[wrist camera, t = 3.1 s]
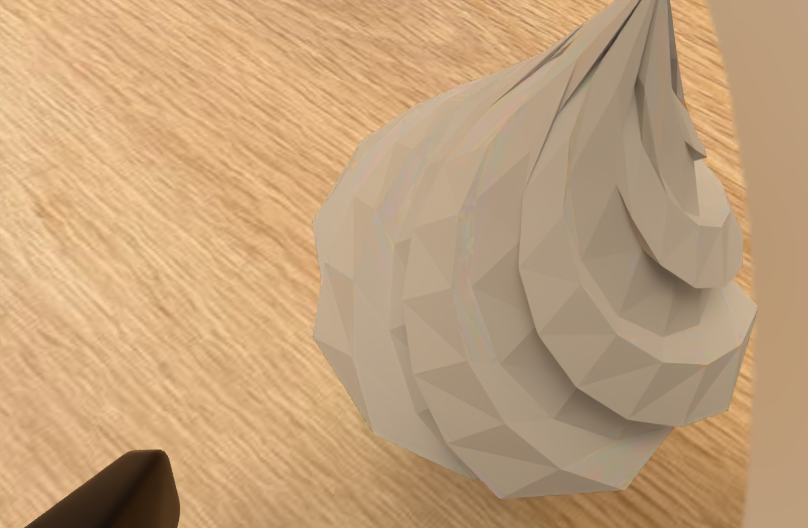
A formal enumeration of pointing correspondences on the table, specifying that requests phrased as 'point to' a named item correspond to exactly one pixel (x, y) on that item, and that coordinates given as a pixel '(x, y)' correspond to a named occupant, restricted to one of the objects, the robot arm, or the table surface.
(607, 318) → the ice cream cone
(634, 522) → the table surface
